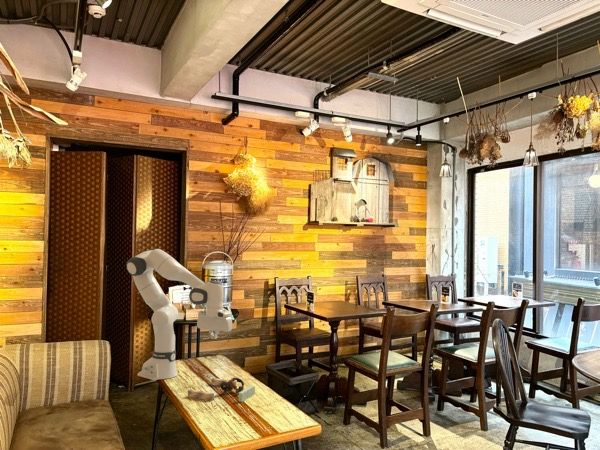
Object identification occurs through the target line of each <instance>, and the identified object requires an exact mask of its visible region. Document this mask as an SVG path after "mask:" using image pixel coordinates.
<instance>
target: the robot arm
mask: <svg viewBox="0 0 600 450" xmlns="http://www.w3.org/2000/svg"><path fill="white" fill-rule="evenodd" d="M125 267H126V270H127V272H128V273H129V275H131V276H132V278H133V282H134V284H135V286H136V288H137V290H138V292H139V294H140V296H141V297H142V299H143V301H144V302H145V304H146V305H147V306H149V308H151V310H152V312H153V313H152V316H151V323H152V328H153V332H154V333H153V334H154V350H153V351H151V352H150V355H151V357H150V358H149V359H148V360H146V361H145V362H144V363H143V364H142V367H141V371H139V372H138V373H137V376H138V377H141V378H145V379H149V380H152V381H157V380H167V379H172V378H176V377H177V376H178V371H177V365H176V358H177V357H176V356H177V351H176V334H175V331H174V330H175V329H174V322H176V320H177V318H178V317H179V316H178V315H179V310H178V307H176V306H175V305H174V303H172V301H171V300H170V298H169V297H167V295H166V294H165V293H164V291H163V289H162V287H161V286H160V284H159V283H158V281H157V278H156V277H155V276H154V271H156V272H157V274H159V275H160V276H161V277H162V278H164V279H166V280H168V281H177V282H182V283H185V284H187V285H188V286H189V287H190V288H192V289H190V291H189V295H188V298H189V301H190V302H191V304H193V305H194V306H201V305H205V310H200V311H199V312H198V313H197V320H196V321H197V322H196V327H197V329H201V330H207V331H208V334H209V335H210V339H212V340H216V339H218V335H219V333H220V332H225V333H229V332H231V331H232V330H233V319H232V317H231V316H232V312H231V311H229V310H228V309H226V308H224V298H225V297H224V294H225V293H224V291H225V290H224V285H223V283H222V282H220V281H218V280H209V281H208V282H205V281H203V280H202V279H200V278H199V277H198V276H197V275H195V274H194V273H193V272H191V271H190V270H188V269H187V268H186V267H185V266H183V265H182V264H180V262H178V261H177V260H176V259H175V258H174V257H173V256H171V255H170V254H168V253H167V252H166V251H164V250H163V249H160V248H152V249H149V250H146V251H143V252H140V253H139V254H137V255H135V256H133V257H131V258H129V259H128V260H127V262H126V265H125Z"/></svg>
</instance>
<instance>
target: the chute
mask: <svg viewBox="0 0 600 450" xmlns="http://www.w3.org/2000/svg"><path fill="white" fill-rule="evenodd" d="M229 380H230V379H229ZM229 380H228V379H224V378H223V379H222V378H216V377H213V378H211V379H210V382H211V385H212V386H216V387H217V386H218V387H220V384H221V383H222V382H228V381H229ZM233 383H234V384H235V385H236V386H237V380H235V381H233ZM223 387H225V386H223ZM187 397H188V398H194V399H199V400H205V401H209V402H210V401H211V402H212V401H214V400H215V393H214V392H210V391H209V392H208V391H202V390H197V389H187Z"/></svg>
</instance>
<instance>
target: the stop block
mask: <svg viewBox="0 0 600 450" xmlns="http://www.w3.org/2000/svg"><path fill="white" fill-rule="evenodd" d="M255 388H256V385H250V386H248V387H246V388H245V389H243V391H241V392H239V393H238V402H239V403H244V401H247V400H248V399H250V398H251V397H253V396H254V395H256V394H255V391H256V389H255Z"/></svg>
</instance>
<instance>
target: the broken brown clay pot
mask: <svg viewBox="0 0 600 450" xmlns="http://www.w3.org/2000/svg"><path fill="white" fill-rule="evenodd" d="M233 381H236V383H240V384H241V386H240V385H239V386H238V385H237V384H236V385H235V384H234V383H233ZM223 386H225V387H223ZM244 386H245V383H244V381H243V379H241V378H239V377H232V378H231V379H229V381H228V382H222V383H221V384H220V386H219V388H220V389H221V390H222V391H223V392H224V393H227V390H231V391H232V390H234V391H235V392H234V395H235V396H239V392H241V391H243V390H244Z"/></svg>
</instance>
